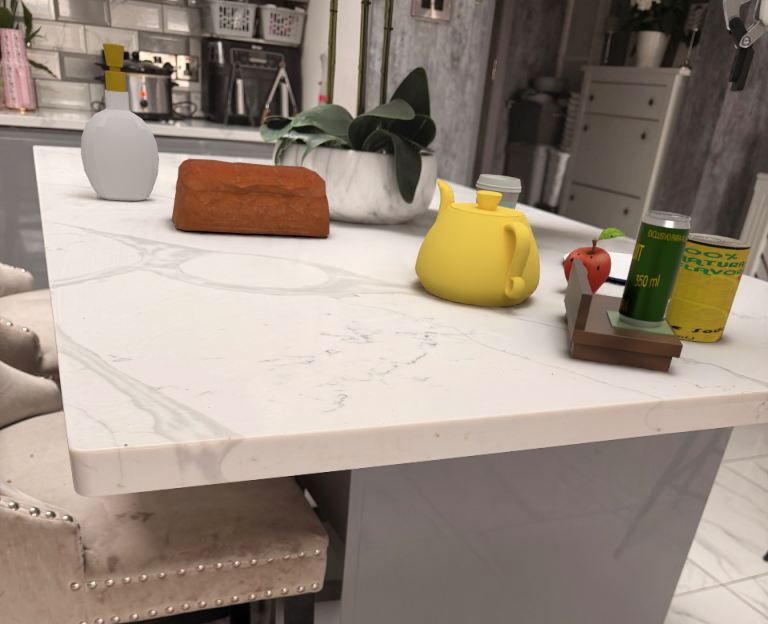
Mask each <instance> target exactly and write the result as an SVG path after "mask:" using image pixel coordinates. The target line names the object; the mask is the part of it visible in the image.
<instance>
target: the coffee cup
mask: <svg viewBox="0 0 768 624" xmlns="http://www.w3.org/2000/svg"><path fill="white" fill-rule="evenodd" d="M475 187H476V192H477V191H480V190H483V191H493V192H498V193H501V194H502V198H501V200H500V202H499V204H498V206H501V207H506V208H511V209H515V210H516V207H517V203H518V200H519V196H520V193H521V192H522V183H521V179H520V178H517V177H514V176H513V177H512V176H507V175H501V174H490V173H488V174H487V173H483V174H480V175H479V177H478V179H477V181H476V184H475ZM475 203H478V201H477V195H476V196H475Z"/></svg>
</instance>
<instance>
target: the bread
mask: <svg viewBox="0 0 768 624" xmlns="http://www.w3.org/2000/svg"><path fill="white" fill-rule="evenodd" d="M326 185H327V184H326V181H325V179H324V178H323V177H322V176H321V175H320V174H319V173H318V172H317V171H315V170H312V169H310V168H308V167H305V166H297V165H282V164H281V165H280V164H275V165H274V164H273V165H271V164H262V163H261V164H260V163H250V162H241V161H233V162H231V161H230V162H229V161H225V160H218V159H208V158H207V159H206V158H187V159H185V160H182V162H181V163H180V164H179V166H178V169H177V179H176V183H175V192H174V193H175V194H174V200H173V207H172V214H171V220H172V222H173V223H174V225H175V228H176V229H178V230H182V231H188V232H189V231H192V232H193V231H195V232H209V233H229V234H230V233H231V234H244V235H245V234H246V235H273V236H301V237H319V238H321V237H325V238H326V237H328V236H329V235H330V232H331V218H330V215H331V214H330V207H329V204H330V203H329V200H328V196H327V189H326V188H327V186H326Z"/></svg>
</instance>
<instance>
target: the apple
mask: <svg viewBox="0 0 768 624" xmlns="http://www.w3.org/2000/svg"><path fill="white" fill-rule="evenodd" d="M625 235H626V233H625V232H623V231H621V230H620V229H618V228H616V227H606V228H605V229H603V230H602V231H601V232H600V235H599V236H598V239H597V237H594V238H592V239H591V242H592V246H586V247H585V246H584V247H583V246H582V247H578V248H575V249H574V250H572V251H571V252H569V253H570V254H569V255H568V256H567V258H566V260H565V261H564V263H563V273H564V278H565V280H566V283H567V284H568V280H569V276H570V271H571V266H572V262H573V259H575V260H582V262H583V266H584V269H585V272H586V275H587V278H588V281H589V284H590V288H591V291H592V293H593V294H597V291H598V290H599V289H600V288H601V287H602V286H603V285H604V284H605V282H606V281H607V280H608V279H607V278H608V277H609V275H610V271H611V258H610V255H609V253H607V252H608V251H607V250H605V249H604V248H602V247H599V246H597V243H598V242H599V241H602V240H610V239H617V238H619V237H621V238H623V237H625Z"/></svg>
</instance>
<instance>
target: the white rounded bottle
mask: <svg viewBox="0 0 768 624" xmlns="http://www.w3.org/2000/svg"><path fill="white" fill-rule="evenodd" d="M102 49H103V53H104V57H105V63H106V66H107V67H109V70H104V76H105V89H104V98H105V99H104V101H105V109H102V110H100V111H98V112H96V113H94V114H93V115H92V116H91V117H90V118H89V120H88V121H86V123H85V125H84V127H83V131H82V135H81V137H80V138H81V139H80V140H81V141H80V142H81V143H80V157H81V161H82V167H83V171H84V173H85V175H86V177H87V179H88V181H89V183H90V185H91V187H92V189H93V191H94V192H95V193H96V196H98V197H100V198H101V199H104V200H106V201H122V202H141V201H145V200H147V199H148V198H149V197H150V195H151V193H152V191H153V190H154V187H155V184H156V181H157V179H158V175H159V164H160V157H159V156H160V155H159V148H158V143H157V141H156V138H155V136H154V133H153V131H152V129H151V128H150V127H149V125H148V124H147V123H146V122H145V121H144V119H143V118H141V116H139V115H137V114H135V113H134V112H132V111H131V110H130V98H129V96H130V95H129V91H127V78H126V72H124V71H121V68H124V55H125V45H122V44H117V43H109V42H106V43H102Z"/></svg>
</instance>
